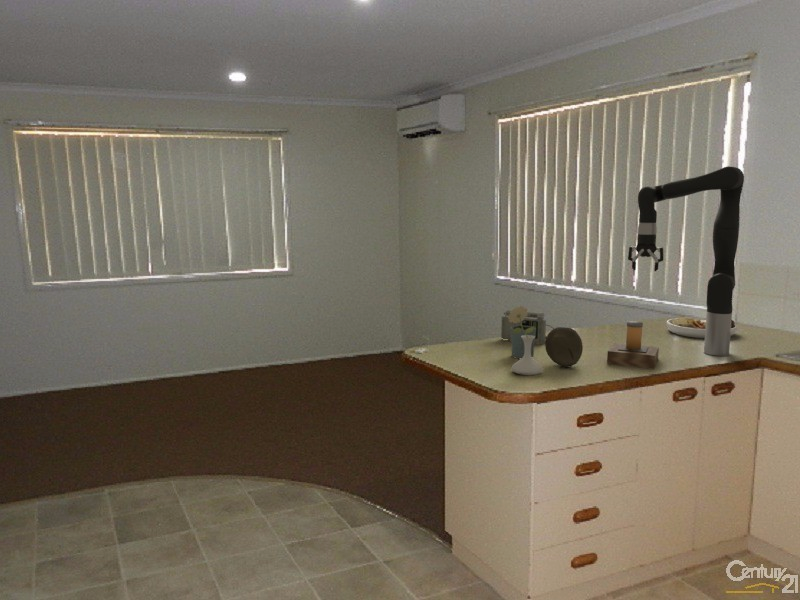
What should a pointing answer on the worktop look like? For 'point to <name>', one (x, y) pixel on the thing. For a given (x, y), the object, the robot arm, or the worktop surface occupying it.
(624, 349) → the stand
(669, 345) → the worktop surface
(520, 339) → the drinking glass
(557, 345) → the coconut
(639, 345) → the amber jar
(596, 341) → the worktop surface
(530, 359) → the flower in vase
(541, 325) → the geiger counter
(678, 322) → the bowl
